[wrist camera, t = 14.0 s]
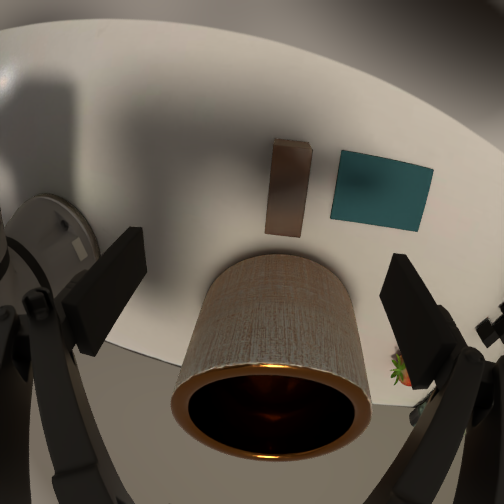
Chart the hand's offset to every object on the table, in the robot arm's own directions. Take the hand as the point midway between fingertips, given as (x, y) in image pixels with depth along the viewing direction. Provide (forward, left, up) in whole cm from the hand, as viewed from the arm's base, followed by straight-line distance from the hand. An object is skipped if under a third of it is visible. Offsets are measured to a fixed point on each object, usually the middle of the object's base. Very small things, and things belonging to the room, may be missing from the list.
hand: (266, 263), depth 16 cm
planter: (+2, -16, -16) cm, 23 cm away
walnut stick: (+1, 0, -16) cm, 16 cm away
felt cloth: (+11, 0, -16) cm, 19 cm away
